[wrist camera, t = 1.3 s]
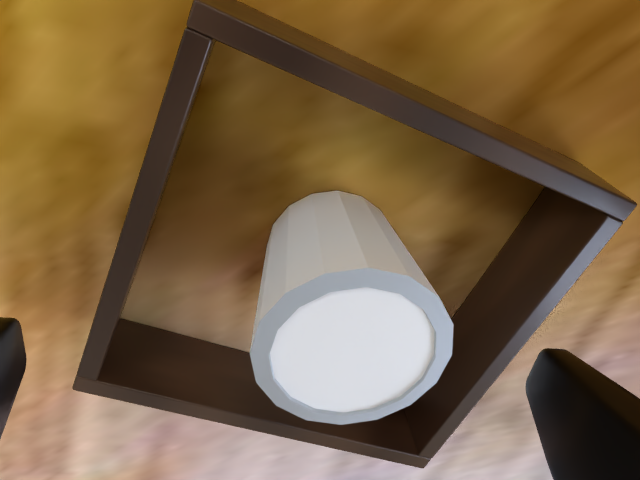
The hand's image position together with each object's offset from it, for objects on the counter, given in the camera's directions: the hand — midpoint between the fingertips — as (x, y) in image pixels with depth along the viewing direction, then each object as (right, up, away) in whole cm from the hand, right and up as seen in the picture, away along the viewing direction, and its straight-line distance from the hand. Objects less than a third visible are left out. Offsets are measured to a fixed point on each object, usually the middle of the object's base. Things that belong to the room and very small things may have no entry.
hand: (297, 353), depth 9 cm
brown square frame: (+1, +2, +14) cm, 14 cm away
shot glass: (+1, +2, +14) cm, 14 cm away
